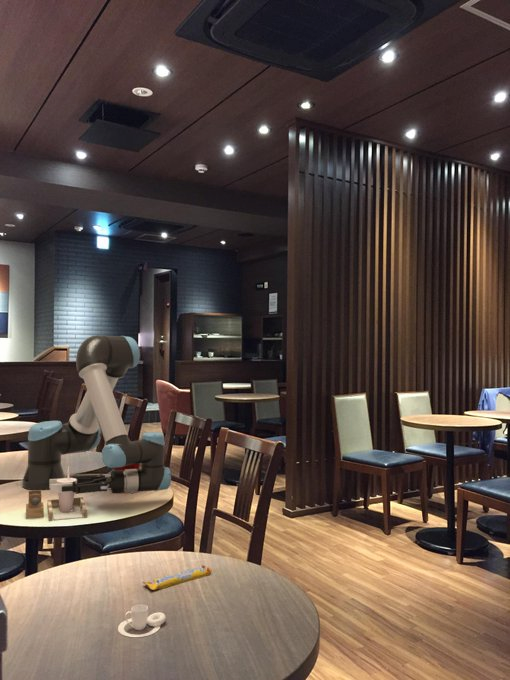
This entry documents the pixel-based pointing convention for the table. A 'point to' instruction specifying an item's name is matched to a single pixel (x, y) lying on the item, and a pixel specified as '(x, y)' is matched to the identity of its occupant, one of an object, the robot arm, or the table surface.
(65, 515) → the mat
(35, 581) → the table surface
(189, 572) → the candy bar
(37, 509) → the winch
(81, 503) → the bay
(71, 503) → the smoothie
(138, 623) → the teacup and saucer
